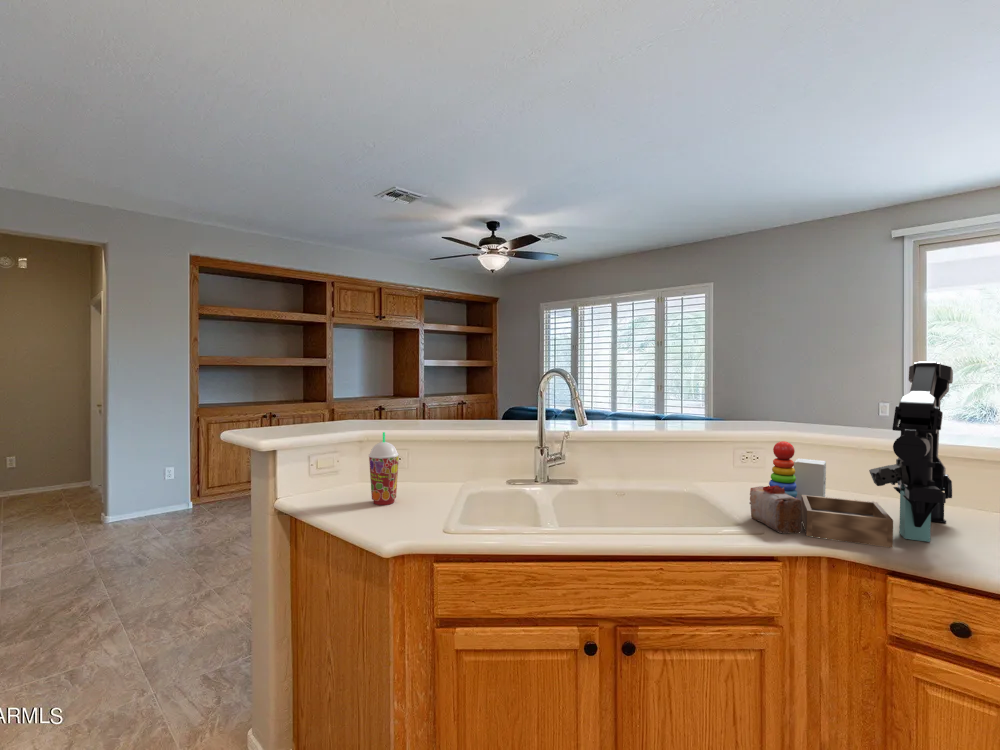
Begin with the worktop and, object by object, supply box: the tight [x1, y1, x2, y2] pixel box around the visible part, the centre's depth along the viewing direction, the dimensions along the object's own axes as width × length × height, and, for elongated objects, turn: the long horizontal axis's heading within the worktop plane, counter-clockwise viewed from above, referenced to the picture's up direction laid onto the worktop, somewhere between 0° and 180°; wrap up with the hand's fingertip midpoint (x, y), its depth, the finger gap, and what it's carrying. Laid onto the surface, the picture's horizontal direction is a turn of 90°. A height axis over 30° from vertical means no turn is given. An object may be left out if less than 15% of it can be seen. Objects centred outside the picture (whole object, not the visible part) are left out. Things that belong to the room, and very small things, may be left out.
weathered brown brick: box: [749, 485, 803, 534], centre depth 127 cm, size 14×8×10 cm, turn 3°
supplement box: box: [793, 458, 827, 500], centre depth 144 cm, size 7×7×13 cm
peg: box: [898, 490, 932, 543], centre depth 117 cm, size 5×5×10 cm
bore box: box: [801, 495, 894, 549], centre depth 122 cm, size 16×16×6 cm
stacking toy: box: [768, 440, 798, 499], centre depth 140 cm, size 8×8×19 cm
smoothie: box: [368, 431, 400, 506], centre depth 146 cm, size 8×8×20 cm
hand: (914, 523), depth 117 cm, fingers closed on peg, 5 cm apart
